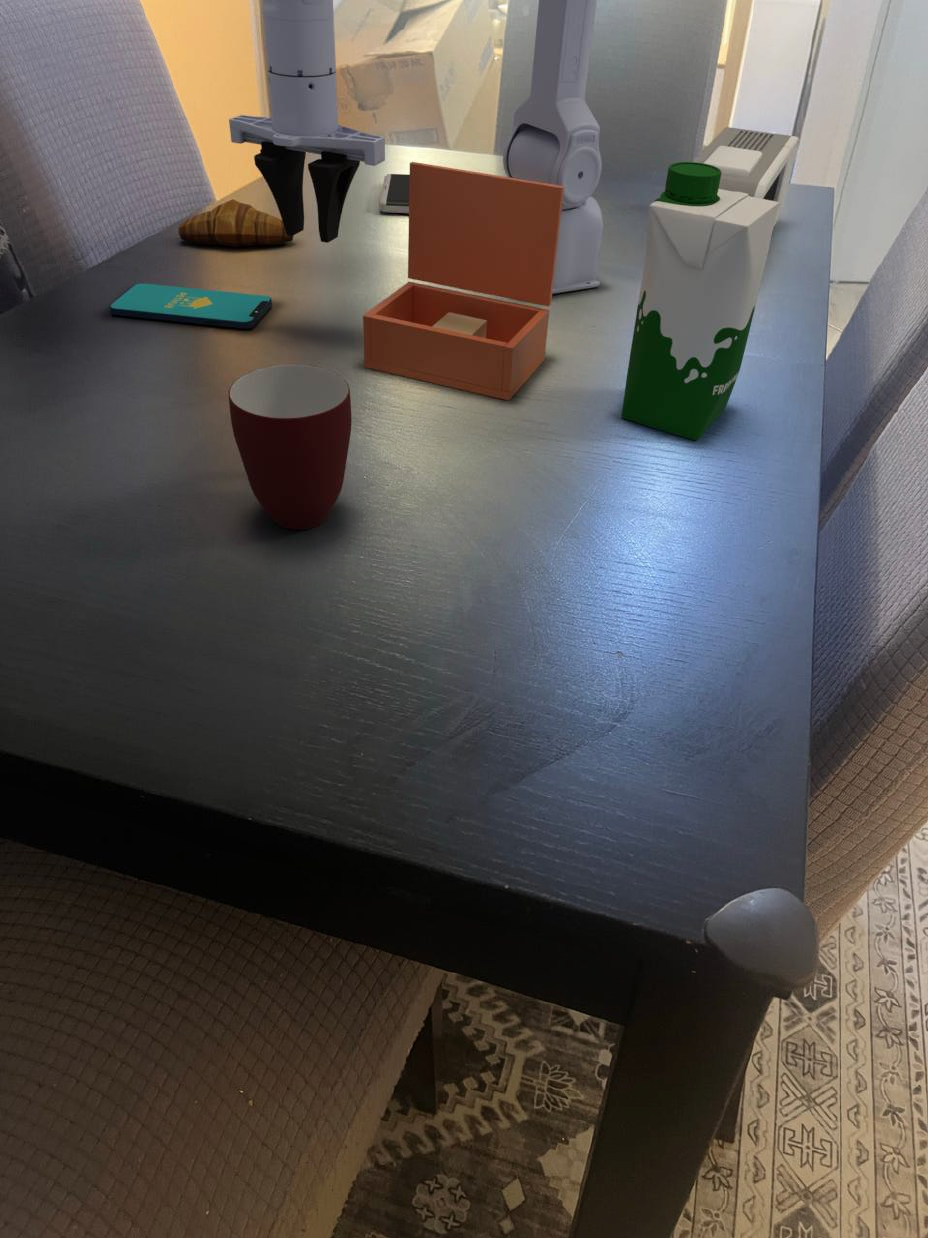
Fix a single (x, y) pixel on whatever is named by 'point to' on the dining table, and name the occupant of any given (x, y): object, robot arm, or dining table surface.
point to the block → (463, 324)
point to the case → (455, 340)
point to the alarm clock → (753, 162)
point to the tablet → (395, 194)
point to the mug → (293, 439)
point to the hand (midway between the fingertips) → (312, 235)
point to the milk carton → (695, 300)
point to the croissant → (234, 227)
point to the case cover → (483, 232)
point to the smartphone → (192, 305)
